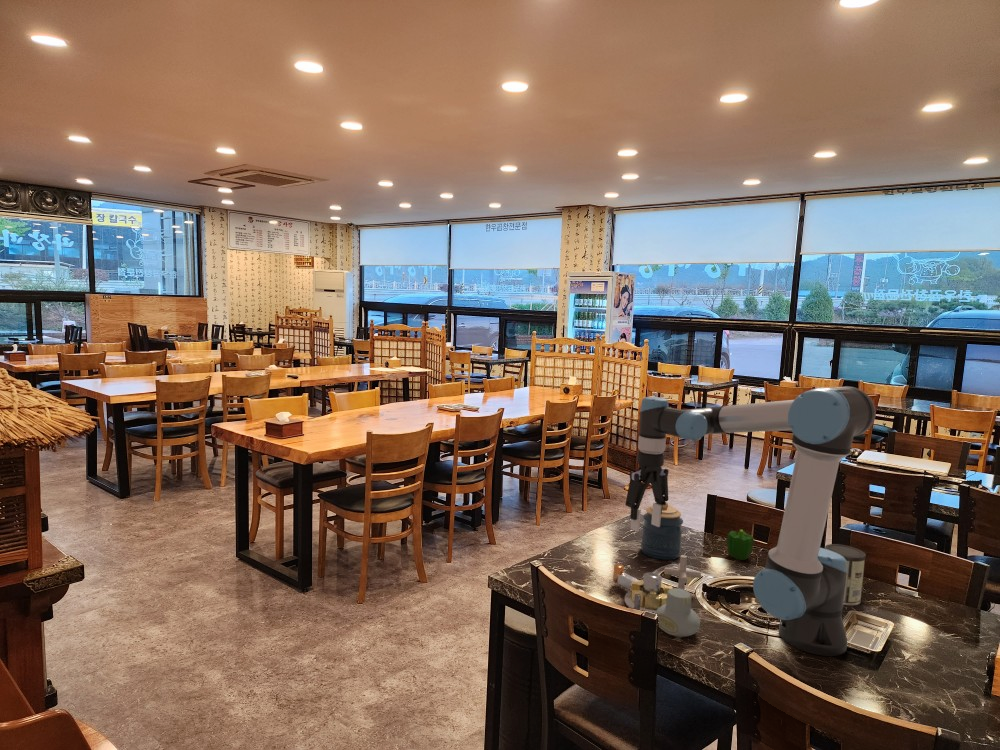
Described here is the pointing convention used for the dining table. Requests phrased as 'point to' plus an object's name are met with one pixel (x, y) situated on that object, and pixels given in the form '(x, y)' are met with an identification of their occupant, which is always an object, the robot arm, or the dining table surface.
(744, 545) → the bell pepper
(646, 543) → the canister
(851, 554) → the coffee can
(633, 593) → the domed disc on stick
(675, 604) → the air freshener
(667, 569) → the pipe connector
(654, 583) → the gold and silver mechanism
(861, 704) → the dining table surface
